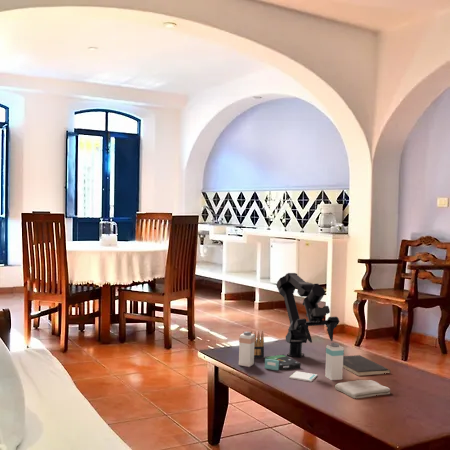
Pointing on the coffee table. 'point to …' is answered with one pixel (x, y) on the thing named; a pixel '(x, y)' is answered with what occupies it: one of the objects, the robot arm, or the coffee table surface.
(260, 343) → the ammunition clip
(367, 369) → the hardcover book
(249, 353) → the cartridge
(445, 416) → the coffee table surface
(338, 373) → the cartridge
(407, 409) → the coffee table surface
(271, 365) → the teal cartridge with label
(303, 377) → the mat
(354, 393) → the washcloth
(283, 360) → the disk drive
